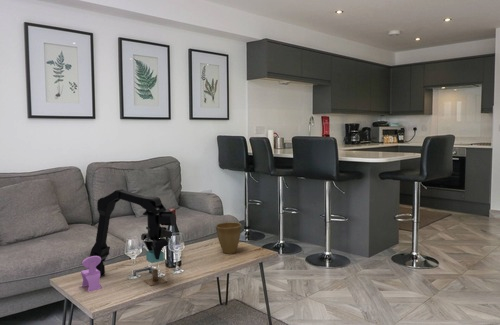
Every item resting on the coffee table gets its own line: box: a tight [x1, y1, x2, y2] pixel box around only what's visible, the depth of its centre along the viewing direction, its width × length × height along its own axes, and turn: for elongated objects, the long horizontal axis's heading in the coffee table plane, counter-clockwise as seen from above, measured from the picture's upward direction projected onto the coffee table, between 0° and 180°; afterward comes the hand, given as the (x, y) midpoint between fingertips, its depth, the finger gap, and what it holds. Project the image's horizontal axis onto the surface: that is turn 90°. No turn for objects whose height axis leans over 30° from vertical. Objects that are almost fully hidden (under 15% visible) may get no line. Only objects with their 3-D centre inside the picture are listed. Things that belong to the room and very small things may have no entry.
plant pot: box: [215, 221, 242, 254], centre depth 236 cm, size 15×15×16 cm
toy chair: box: [80, 256, 103, 293], centre depth 184 cm, size 8×9×15 cm
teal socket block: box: [145, 250, 165, 264], centre depth 189 cm, size 6×6×4 cm
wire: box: [132, 266, 155, 277], centre depth 198 cm, size 9×7×2 cm
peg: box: [143, 268, 168, 287], centre depth 190 cm, size 8×8×6 cm
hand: (154, 257), depth 190 cm, fingers closed on teal socket block, 6 cm apart
